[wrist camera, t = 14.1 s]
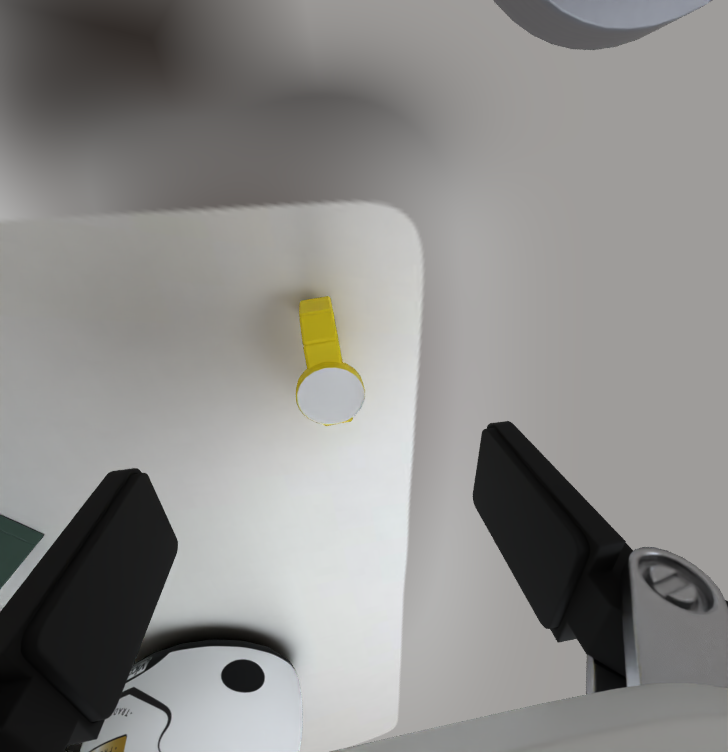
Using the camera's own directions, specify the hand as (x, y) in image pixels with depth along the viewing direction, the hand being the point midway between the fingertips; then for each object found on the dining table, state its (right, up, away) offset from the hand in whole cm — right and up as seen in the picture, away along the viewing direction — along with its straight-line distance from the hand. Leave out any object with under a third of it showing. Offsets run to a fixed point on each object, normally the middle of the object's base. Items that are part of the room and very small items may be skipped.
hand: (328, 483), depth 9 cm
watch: (-1, +5, +9) cm, 10 cm away
